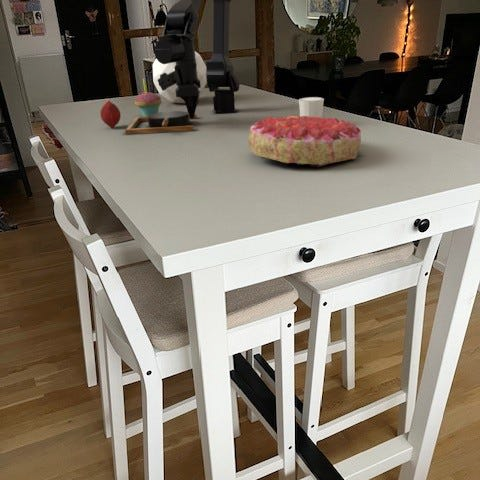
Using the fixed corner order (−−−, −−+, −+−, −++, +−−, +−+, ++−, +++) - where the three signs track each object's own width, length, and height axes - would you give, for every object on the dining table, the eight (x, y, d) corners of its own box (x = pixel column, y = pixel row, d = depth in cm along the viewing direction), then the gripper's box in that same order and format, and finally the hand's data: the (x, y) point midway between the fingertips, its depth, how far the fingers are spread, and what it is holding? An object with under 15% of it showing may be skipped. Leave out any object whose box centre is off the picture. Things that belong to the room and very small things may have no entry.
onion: (126, 127, 156) (121, 98, 152) (110, 130, 152) (105, 101, 148) (115, 125, 159) (110, 97, 155) (99, 128, 156) (94, 100, 152)
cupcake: (160, 117, 166) (155, 76, 160) (134, 118, 167) (128, 78, 161) (164, 112, 174) (159, 73, 167) (139, 114, 174) (133, 74, 168)
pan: (190, 120, 160) (189, 109, 158) (187, 133, 143) (185, 121, 141) (151, 122, 160) (149, 111, 158) (143, 136, 143) (142, 124, 141)
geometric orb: (195, 122, 192) (206, 78, 174) (143, 104, 189) (148, 58, 171) (206, 88, 200) (217, 43, 183) (155, 71, 197) (162, 23, 180)
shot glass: (307, 129, 140) (307, 101, 137) (293, 125, 146) (293, 98, 142) (328, 125, 143) (329, 98, 139) (313, 122, 148) (314, 95, 144)
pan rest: (196, 117, 163) (196, 113, 162) (193, 130, 146) (192, 126, 146) (136, 121, 163) (135, 117, 163) (125, 134, 147) (125, 129, 146)
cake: (231, 162, 110) (232, 122, 106) (267, 140, 131) (268, 107, 127) (347, 175, 103) (352, 133, 99) (365, 150, 124) (371, 115, 120)
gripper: (160, 59, 154) (167, 114, 162) (153, 65, 138) (161, 126, 146) (197, 56, 154) (203, 112, 162) (194, 62, 138) (201, 123, 146)
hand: (191, 118), depth 154 cm, fingers closed, pressing on pan
